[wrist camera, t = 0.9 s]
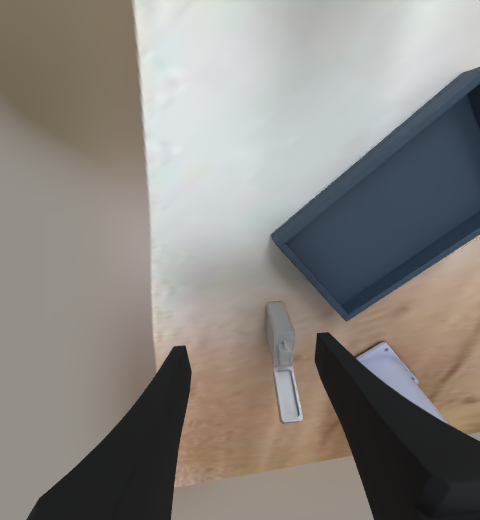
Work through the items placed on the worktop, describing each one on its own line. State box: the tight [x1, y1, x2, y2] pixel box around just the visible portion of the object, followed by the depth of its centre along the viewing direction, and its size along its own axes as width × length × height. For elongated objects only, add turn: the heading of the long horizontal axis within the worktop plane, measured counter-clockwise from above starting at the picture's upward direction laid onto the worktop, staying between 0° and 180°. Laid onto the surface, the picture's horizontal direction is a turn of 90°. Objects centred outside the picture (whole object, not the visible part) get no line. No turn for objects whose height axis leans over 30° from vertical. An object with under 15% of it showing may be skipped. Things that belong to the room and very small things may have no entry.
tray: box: [271, 67, 480, 321], centre depth 19 cm, size 11×17×2 cm, turn 132°
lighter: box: [266, 302, 303, 423], centre depth 21 cm, size 7×2×8 cm, turn 3°
